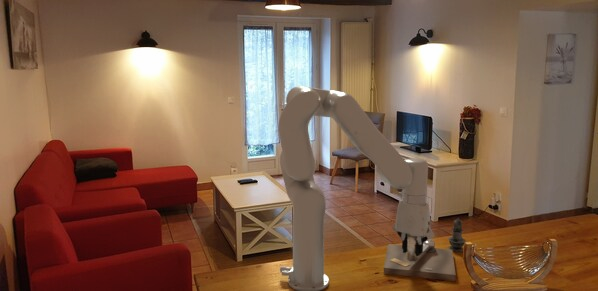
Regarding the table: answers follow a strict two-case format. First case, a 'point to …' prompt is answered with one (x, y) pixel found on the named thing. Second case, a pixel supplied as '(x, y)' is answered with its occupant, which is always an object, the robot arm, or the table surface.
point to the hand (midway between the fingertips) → (412, 252)
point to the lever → (411, 248)
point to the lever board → (421, 264)
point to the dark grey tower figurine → (457, 237)
